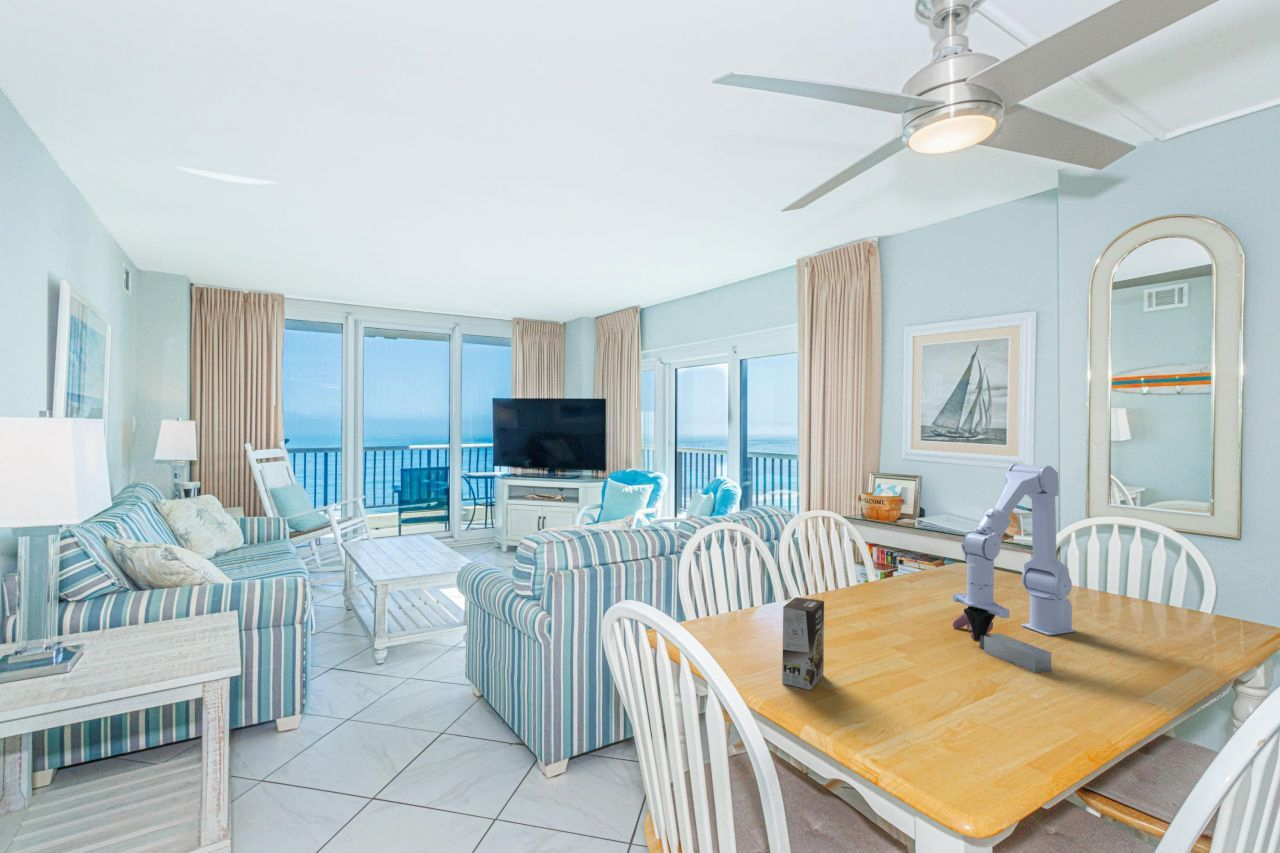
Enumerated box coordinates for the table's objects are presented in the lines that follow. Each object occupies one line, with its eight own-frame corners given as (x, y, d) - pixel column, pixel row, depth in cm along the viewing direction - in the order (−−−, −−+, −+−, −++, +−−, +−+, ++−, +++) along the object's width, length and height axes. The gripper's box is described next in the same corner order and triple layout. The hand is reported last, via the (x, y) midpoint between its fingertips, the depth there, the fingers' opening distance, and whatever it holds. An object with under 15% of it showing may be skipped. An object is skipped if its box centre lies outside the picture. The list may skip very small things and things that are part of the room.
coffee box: (812, 691, 126) (812, 611, 126) (781, 683, 129) (781, 606, 129) (824, 675, 134) (825, 600, 133) (795, 669, 137) (795, 595, 137)
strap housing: (999, 649, 149) (999, 633, 149) (1051, 670, 137) (1051, 652, 137) (984, 651, 147) (984, 635, 147) (1034, 673, 135) (1035, 655, 135)
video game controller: (987, 646, 155) (1000, 621, 155) (971, 638, 155) (984, 613, 155) (964, 633, 165) (976, 609, 165) (949, 625, 165) (961, 601, 165)
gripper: (943, 577, 157) (943, 631, 157) (993, 592, 143) (992, 651, 143) (965, 574, 159) (964, 628, 159) (1016, 589, 145) (1015, 647, 146)
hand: (979, 639), depth 151 cm, fingers closed
